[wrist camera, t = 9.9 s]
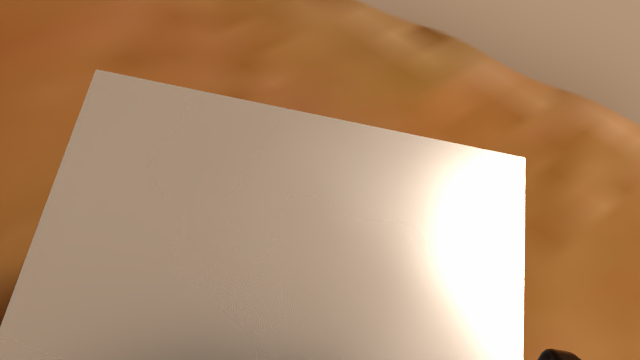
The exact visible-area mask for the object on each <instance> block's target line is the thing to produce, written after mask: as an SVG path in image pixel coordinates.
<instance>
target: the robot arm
mask: <svg viewBox="0 0 640 360" xmlns="http://www.w3.org/2000/svg"><path fill="white" fill-rule="evenodd" d="M538 360H581V359H580V358H578V357H577V356H576V355H574V354H573V353H570V352H567V351H561V350H555V349H546V350H545V351H543V352H542V353H541V355H540V357H539V358H538Z"/></svg>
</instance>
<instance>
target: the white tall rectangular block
mask: <svg viewBox="0 0 640 360" xmlns="http://www.w3.org/2000/svg"><path fill="white" fill-rule="evenodd" d="M524 228H525V158H524V157H519V156H514V155H509V154H504V153H499V152H495V151H490V150H485V149H480V148H475V147H470V146H465V145H461V144H456V143H451V142H446V141H441V140H436V139H432V138H427V137H422V136H417V135H412V134H407V133H402V132H398V131H393V130H388V129H383V128H378V127H373V126H368V125H364V124H359V123H354V122H349V121H344V120H339V119H335V118H330V117H325V116H320V115H315V114H310V113H305V112H301V111H296V110H291V109H286V108H281V107H276V106H271V105H267V104H262V103H257V102H252V101H247V100H242V99H237V98H233V97H228V96H223V95H218V94H213V93H208V92H204V91H199V90H194V89H189V88H184V87H179V86H174V85H170V84H165V83H160V82H155V81H150V80H145V79H140V78H136V77H131V76H126V75H121V74H116V73H111V72H107V71H102V70H97V69H96V71H95V73H94V76H93V79H92V81H91V84H90V87H89V89H88V92H87V95H86V98H85V100H84V103H83V106H82V108H81V111H80V114H79V116H78V119H77V122H76V124H75V127H74V130H73V133H72V135H71V138H70V141H69V143H68V146H67V149H66V151H65V154H64V157H63V159H62V162H61V165H60V167H59V170H58V173H57V176H56V178H55V181H54V184H53V186H52V189H51V192H50V194H49V197H48V200H47V202H46V205H45V208H44V211H43V213H42V216H41V219H40V221H39V224H38V227H37V229H36V232H35V235H34V237H33V240H32V243H31V246H30V248H29V251H28V254H27V256H26V259H25V262H24V264H23V267H22V270H21V272H20V275H19V278H18V281H17V283H16V286H15V289H14V291H13V294H12V297H11V299H10V302H9V305H8V307H7V310H6V313H5V315H4V318H3V321H2V324H1V326H0V360H523V324H524Z"/></svg>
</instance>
